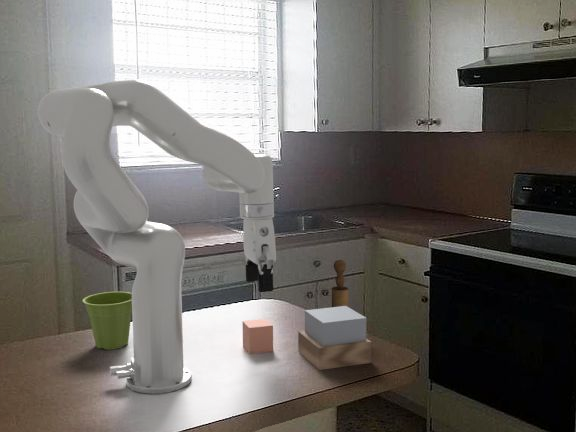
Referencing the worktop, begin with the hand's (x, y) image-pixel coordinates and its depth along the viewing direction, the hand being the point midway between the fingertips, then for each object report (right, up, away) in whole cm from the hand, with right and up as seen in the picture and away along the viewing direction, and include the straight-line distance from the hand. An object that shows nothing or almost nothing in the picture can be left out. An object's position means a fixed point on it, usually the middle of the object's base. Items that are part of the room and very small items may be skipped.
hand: (259, 286), depth 148 cm
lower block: (+16, -15, -4) cm, 23 cm away
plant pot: (-34, -14, +4) cm, 37 cm away
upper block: (+17, -10, -5) cm, 20 cm away
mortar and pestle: (+19, -13, +13) cm, 26 cm away
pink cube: (0, -14, +2) cm, 15 cm away
